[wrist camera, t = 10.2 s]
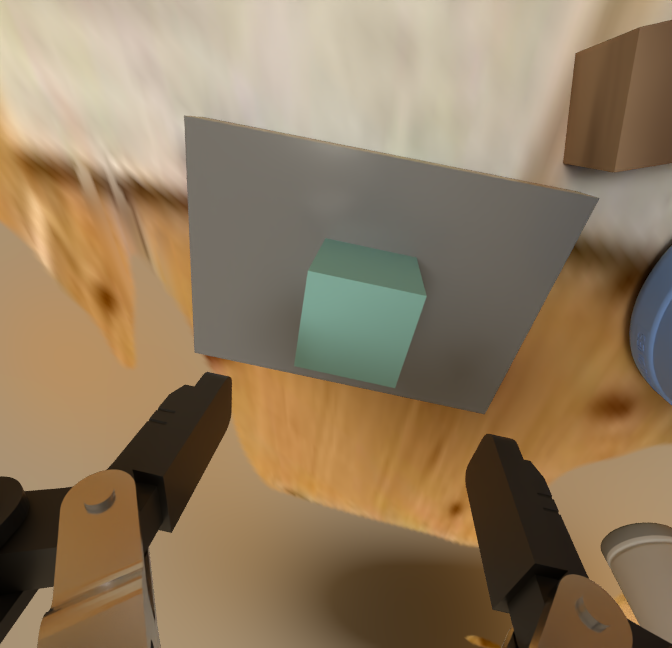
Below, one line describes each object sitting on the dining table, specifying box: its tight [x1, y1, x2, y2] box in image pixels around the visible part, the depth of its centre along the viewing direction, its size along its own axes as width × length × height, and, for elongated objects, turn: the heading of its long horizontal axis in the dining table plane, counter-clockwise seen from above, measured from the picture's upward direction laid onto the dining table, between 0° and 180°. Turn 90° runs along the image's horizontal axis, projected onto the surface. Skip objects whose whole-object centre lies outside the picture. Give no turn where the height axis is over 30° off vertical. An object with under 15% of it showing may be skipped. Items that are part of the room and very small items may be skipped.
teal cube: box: [294, 238, 427, 388], centre depth 18 cm, size 5×5×5 cm
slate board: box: [184, 116, 599, 414], centre depth 21 cm, size 20×14×2 cm
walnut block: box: [563, 20, 672, 172], centre depth 14 cm, size 4×4×4 cm
